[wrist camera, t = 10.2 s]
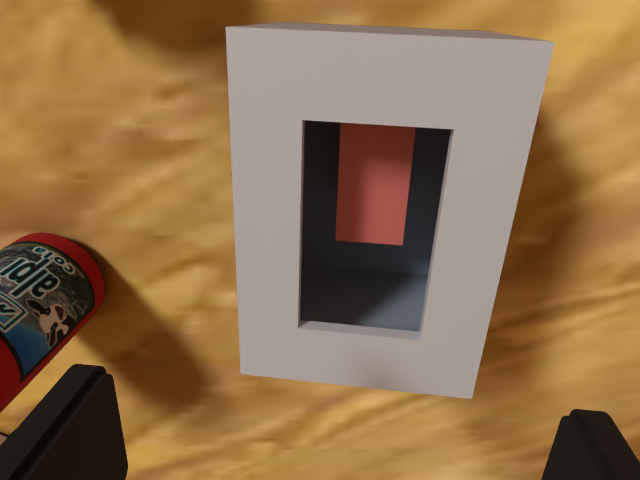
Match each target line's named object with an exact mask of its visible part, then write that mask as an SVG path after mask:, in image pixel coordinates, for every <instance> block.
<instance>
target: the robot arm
mask: <svg viewBox="0 0 640 480" xmlns="http://www.w3.org/2000/svg"><path fill="white" fill-rule="evenodd" d="M127 470H128V461H127V455H126V450H125V444H124V438H123V432H122V426H121V421H120V415H119V409H118V403H117V397H116V391H115V386H114V380H113V376H112V375H111V374H107V373H106V369H105V368H104V367H102V366H95V365H83V364H75V365H72V366H71V367H70V368H69V369H68V370H67V371H66V373H65V374H64V375H63V376H62V377H61V378H60V379H59V381H58V382H57V383H56V384H55V385H54V386H53V387H52V389H51V390H50V391H49V392H48V393H47V394H46V396H45V397H44V398H43V399H42V400H41V401H40V402H39V404H38V405H37V406H36V407H35V408H34V409H33V410H32V412H31V413H30V414H29V415H28V416H27V417H26V419H25V420H24V421H23V422H22V423H21V424H20V425H19V427H18V428H17V429H15V430H14V431H13V432H12V433H11V434H10V435H9V436H8V437H6V436H4V435H1V434H0V480H125V478H126V475H127ZM541 480H640V462H639V461H638V459H637V458H636V456H635V455H634V453H633V451H632V450H631V448H630V447H629V445H628V444H627V442H626V440H625V439H624V437H623V436H622V434H621V433H620V431H619V429H618V428H617V426H616V425H615V423H614V422H613V420H612V418H611V417H610V416H609V415H608V414H607V413H606V412H602V411H591V410H580V409H574V410H572V411H571V413H570V415H569V416H563V417H562V419H561V421H560V424H559V427H558V430H557V433H556V436H555V439H554V442H553V445H552V448H551V451H550V454H549V457H548V461H547V464H546V467H545V470H544V473H543V476H542V479H541Z"/></svg>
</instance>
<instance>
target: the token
mask: <svg viewBox="0 0 640 480" xmlns="http://www.w3.org/2000/svg"><path fill="white" fill-rule="evenodd" d="M415 130H416V127H406V126H390V125H374V124H358V123H342V122H341V129H340V151H339V173H338V195H337V217H336V239H335V240H337V241H350V242H364V243H378V244H391V245H403V236H404V227H405V219H406V210H407V201H408V192H409V183H410V175H411V166H412V157H413V148H414V139H415Z"/></svg>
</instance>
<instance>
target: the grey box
mask: <svg viewBox="0 0 640 480" xmlns="http://www.w3.org/2000/svg"><path fill="white" fill-rule="evenodd" d="M554 43H555V42H552V41H546V40H539V39H533V38H527V37H520V36H514V35H507V34H501V33H495V32H488V31H470V30H447V29H425V28H402V27H380V26H357V25H335V24H312V23H289V22H280V23H268V24H255V25H243V26H230V27H226V48H227V71H228V93H229V116H230V139H231V162H232V185H233V208H234V231H235V254H236V277H237V300H238V323H239V345H240V368H241V374H246V375H255V376H265V377H274V378H283V379H292V380H301V381H311V382H320V383H329V384H338V385H347V386H356V387H366V388H375V389H384V390H393V391H402V392H411V393H421V394H430V395H439V396H448V397H457V398H467V399H472V396H473V391H474V387H475V383H476V379H477V374H478V370H479V366H480V361H481V357H482V353H483V348H484V344H485V340H486V335H487V331H488V327H489V323H490V318H491V314H492V310H493V305H494V301H495V297H496V292H497V288H498V284H499V280H500V275H501V271H502V267H503V262H504V258H505V254H506V249H507V245H508V241H509V237H510V232H511V228H512V224H513V219H514V215H515V211H516V206H517V202H518V198H519V193H520V189H521V185H522V181H523V176H524V172H525V168H526V163H527V159H528V155H529V150H530V146H531V142H532V138H533V133H534V129H535V125H536V120H537V116H538V112H539V107H540V103H541V99H542V95H543V90H544V86H545V82H546V77H547V73H548V69H549V64H550V60H551V56H552V51H553V47H554ZM341 122H342V123H358V124H374V125H390V126H406V127H416V130H415V139H414V148H413V157H412V166H411V175H410V183H409V192H408V201H407V210H406V219H405V227H404V236H403V245H391V244H378V243H364V242H350V241H337V240H335V239H336V217H337V195H338V173H339V151H340V129H341Z"/></svg>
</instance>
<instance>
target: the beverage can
mask: <svg viewBox="0 0 640 480" xmlns="http://www.w3.org/2000/svg"><path fill="white" fill-rule="evenodd" d="M104 295H105V286H104V280H103V277H102V274H101V272H100V270H99V268H98V266H97V264H96V263H95V261H94V260H93V259H92V258H91V256H90V255H89V254H88V253H87V252H86V251H85V250H83V249H82V248H81V247H80V246H78V245H77V244H75V243H74V242H72V241H70V240H68V239H66V238H64V237H61V236H58V235H55V234H50V233H33V234H29V235H26V236H24V237H22V238H20V239H18V240H16V241H15V242H13V243H11V244H10V245H8V246H6V247H5V248H3V249H1V250H0V413H1V411H2V410H3V409H4V408H5V407H6V406H7V405H8V404H9V403H10V402H11V401H12V400H13V399H14V398H15V397H16V396H17V395H18V394H19V393H20V392H21V391H22V390H23V389H24V388H25V387H26V386H27V385H28V384H29V383H30V382H31V381H32V380H33V379H34V377H35V376H36V375H37V374H38V373H39V372H40V371H41V370H42V369H43V368H44V367H45V366H46V365H47V364H48V363H49V362H50V361H51V360H52V359H53V358H54V357H55V355H56V354H57V353H58V352H59V351H60V350H61V349H62V348H63V347H64V346H65V345H66V344H67V343H68V342H69V341H70V340H71V338H72V337H73V336H74V335H75V334H76V333H77V332H78V331H79V330H80V329H81V328H82V327H83V326H84V325H85V323H86V322H87V321H88V320H89V319H90V318H91V317H92V316H93V315H94V314H95V313H96V311H97V310H98V309H99V308H100V306H101V304H102V302H103V299H104Z"/></svg>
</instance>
